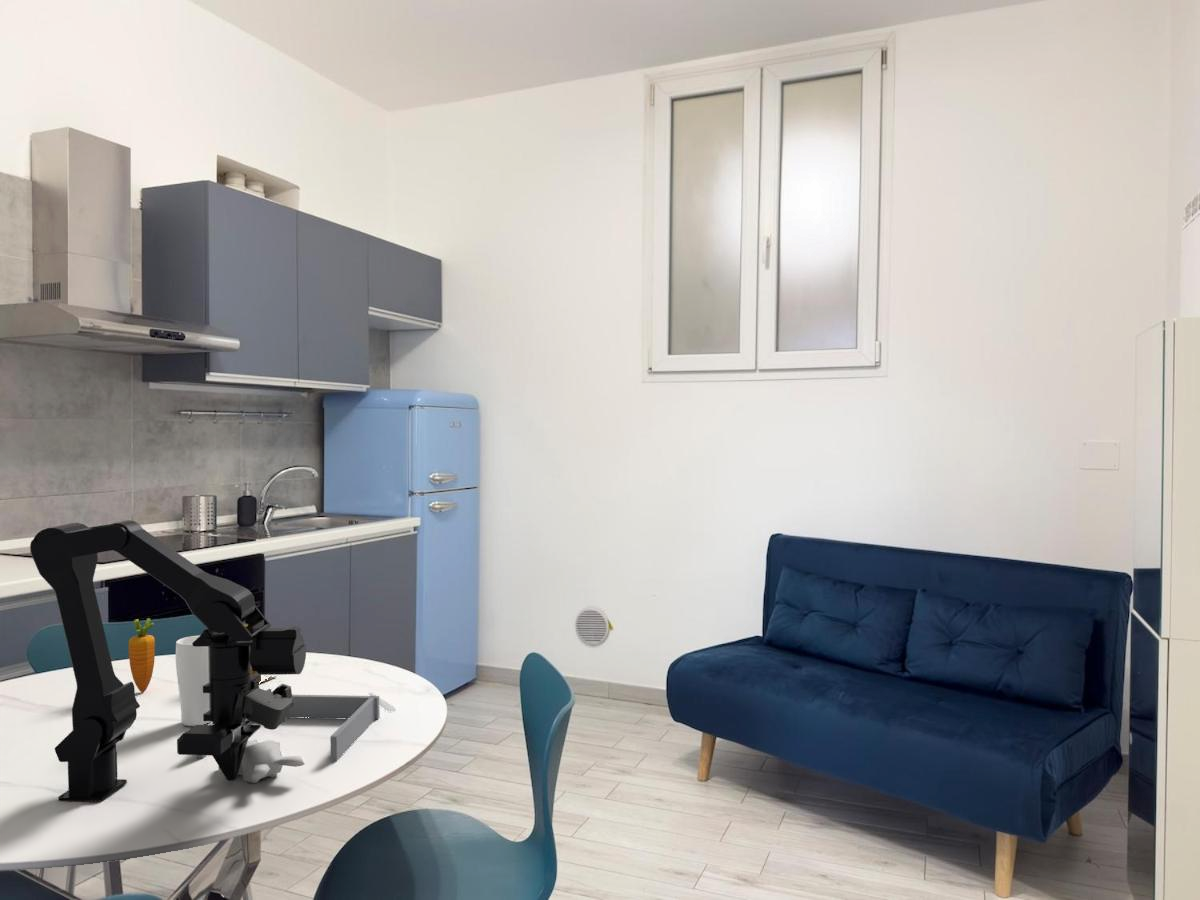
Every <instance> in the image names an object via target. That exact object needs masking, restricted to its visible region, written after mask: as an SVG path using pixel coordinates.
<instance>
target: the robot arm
mask: <svg viewBox="0 0 1200 900" xmlns="http://www.w3.org/2000/svg"><path fill="white" fill-rule="evenodd" d="M29 549H30V554H31V557H32V560H33V562H34V565H35V567H36V568H37V571H38V573H39V575H40V576H41V578H42V579H43V580H45V582H46V583H47V584H48V585H49V586H50V587H51V589H53V591H54V593H55V598H56V602H57V607H58V610H59V615H60V619H61V624H62V627H63V631H64V636H65V639H66V644H67V649H68V653H69V657H70V662H71V665H72V670H73V671H72V672H73V675H74V679H75V682H76V691H75V694H74V695H75V696H74V698H73V699H74V700H73V702H72V708H71V719H72V722H71V723H72V724H71V725H72V730H71V731H70V733H68V734H67V735H66V737H64V739H62V740H61V742H60V743H59V742H58V744H57V745H56V746H55V748H54V751H55V755H56V756H57V757H56V758H57V759H58V761H59V762H60V763H67V781H68V783H67V784H68V790H66V791H64V792H63V793H61V794H60V795H59V796H58V797H57V798H58V801H60V802H61V801H64V802H65V801H68V802H69V801H70V802H73V801H74V802H101V801H103V800H106V799H107V798H108V797H109V796H111V795H112V794H114V793H115V792H117V791H118V790H120V789H121V788H122V787H123V786H125V785H126V784H128V780H127V779H125V778H122V779H121V778H119V779H118V752H117V743H119V742H121V741H123V740H124V738H125V735H126V732H127V731H128V730H129V729H130V728H131V727H132V725H133V724H134V723H135V721H136V719H137V714H138V712H137V709H139V708H140V707H141V705H140V704H139V702H138V700H137V698H136V691H135V683H134V681H129V682H127V683H123V682H122V681H121V680H120V679H119V678H118V677H117V675H116V674H115V671H114V667H113V663H112V659H111V654H110V649H109V646H108V642H107V635H106V632H105V628H104V625H103V620H102V615H101V611H100V607H99V603H98V599H97V595H96V591H95V586H94V577H95V572H96V569H97V563H98V559H99V558H98V557H99V556H98V554H100V553H104V552H109V551H114V552H116V553H118V554H119V555H121V557H123V558H125V559H127V560H128V561H130V563H133V565H135V566H136V567H138V568H140V569H141V570H143V571H144V572H145V573H147V574H148V575H149V576H151V577H152V578H154V579H155V580H156V581H158V582H159V583H161V584H162V585H164V586H165V587H167V588H168V589H170V590H171V591H173V592H174V593H176V594H177V595H178V596H180V598H182V600H184V602H185V603H186V605H187V607H188V608H189V610H190V612H191V614H192V615H194V616H195V618H197V619H198V621H199V622H201V624H203V626H204V627H206V628H205V629H204V630H203V631H202V632H201V634H199V635H200V637H199V638H197V639H196V640H195V641H194V642H193V643H192V645H193V646H195V647H201V646H208V662H209V683H207V684H206V685H204V686H203V693H209V711H208V712H206V713H205V714H203V721H211V723H212V724H213V725H210V724H205V725H195V726H191V728H190V729H188V730H186V731H185V732H183V733H182V734H181V735H180V736H179V737H178V738H177V739H176V750H177V751H176V752H177V754H178V755H180V756H184V755H185V756H197V755H207V756H212V757H213V759H214V761H215V762H216V764H217V766H219V767H220V769H221V771H222V772H223V774H222V775H223V776H224V778H225V780H226V781H228V782H234V781H236V780H237V778H238V772H239V768H240V765H241V761H242V758H243V754H244V751H245V747H246V744H247V742H248V741H249V739H250V738H251V737H252V736H253V735H254V734H256V732H257V731H258V730H260V728H261V727H262V726H263V728H264V729H266V730H267V729H268V730H270V731H272V730H274V731H275V730H277V729H278V727H279V726H280V725H281V724H283V723H285V722H286V720H287V719H288V718H287V715H288V712H289V709H291V708H292V707H293V706H294V703H293V699H294V698H292V695H293V693H292V686H290V685H288V684H285V683H281V684H280V685H278V686H277V687H276V688H275V689H274V690H272V689H271V688H268V689H267V690H266V689H263V688H261V687H260V684H259V680H257V677H251V667H252V669H253V671H257V673H258V674H259V675H264V676H271V675H272V676H273V675H274V676H278V675H279V676H280V675H283V676H284V675H300V674H302V672H303V670H304V668H305V663H306V658H307V657H306V656H307V645H306V644H305V640H304V637H303V635H302V634H301V627H300V626H295V625H294V626H288V627H271V626H272V625H271V623H270V622H269V621H268V619H267V618H266V617H265V615H264V614H263V613H262V612H261V610H260V609H259V608H258V607H257V606H256V602H255V596H254V594H253V593H252V592H251V590H249V589H248V588H246V587H244V586H243V585H241V584H238V583H236V582H234V581H232V580H229V579H227V578H225V577H224V578H223V577H221V576H217V575H213V574H210V573H209V572H206V571H204V570H203V569H201V568H200V567H198V566H197V565H196V564H194V563H192V562H191V560H188V559H187V558H185V557H184V556H183V555H182V554H180V553H178V552H177V551H175V550H174V549H173V548H171V547H170V546H169V545H167V544H165V543H164V542H162V541H161V540H160V539H158V538H157V537H156V536H154V535H152V533H149V532H148V531H147V530H146V529H144V528H143V527H142V525H141V524H140V523H138V522H137V521H134V520H128V519H126V520H122V521H118V522H113V523H111V524H103V525H97V526H90V527H89V526H87V525H86V524H83V523H80V522H70V523H66V524H60V525H56V526H51V527H46V528H44V529H41V530H40V531H39V532H37V533H36V534H35V536H34V537H33V539H32V540H31V541H30V545H29ZM244 623H246V624H248V626H246V627H245V625H244ZM249 720H250V721H249ZM253 723H255V724H253Z"/></svg>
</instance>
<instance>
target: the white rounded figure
mask: <svg viewBox="0 0 1200 900" xmlns="http://www.w3.org/2000/svg"><path fill="white" fill-rule="evenodd" d="M258 741H259V740H258V739H257V738H255V739H253V740H248V741H247V744H246V747H245V751H244V754H243V758H242V761H241V765H240V768H239V772H238V775H239V776H242V780H244V781H245V782H249V783H252V784H257V783H258V782H260V780H261V779H264V778H267V777H269V778H270V779H271V778H275V777H277V775H278V774H279V773H281V771H282V768H283V767H284V766H287V767H295V768H297V767H303V766H304V765H305V763H304V760H303V758H302V756H300V755H299V756H297V755H296V756H295V755H294V756H292V755H291V756H290V755H289V756H287V755H285V756H283V754H282V751H281V744H280V742H279V741H278V742H277V741H275V740H269V739H268V740H264V741H261V742H258ZM217 766H218V765H217ZM217 768H218V773H219V775H224V774H223V772H222V771H221V769H220V767H219V766H218V767H217ZM238 775H237V776H238Z"/></svg>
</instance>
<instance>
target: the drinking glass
mask: <svg viewBox="0 0 1200 900" xmlns="http://www.w3.org/2000/svg"><path fill="white" fill-rule="evenodd" d="M200 635H201V634H199V635H191V636H185V637H182V638H179V639H178V640H176V642H175V669H176V678H177V684H178V687H177V688H178V692H179V693H178V694H179V704H180V711H181V712H180V716H181V717H180V718H181V724H183V726H186V727H194V726H195V725H204V724H205V725H208V724H209V723H210V724H211V723H212V721H203V714H205V713H206V712H208V711H209V693H203V686H204V685H206V684H207V683H209V662H208V646H201V647H195V646H193V645H192V643H193V642H194V641H195V640H196V639H197V638H199V637H200ZM207 723H208V724H207Z"/></svg>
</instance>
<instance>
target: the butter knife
mask: <svg viewBox="0 0 1200 900" xmlns="http://www.w3.org/2000/svg"><path fill="white" fill-rule="evenodd" d="M368 694H369V695H370V696H377V694H375V693H373V692H368ZM368 694H367V695H368ZM369 695H368V696H369ZM379 705H380V706H381V707H383V708H384V709H385V710H387V711H390V712H389V713H392V712H391V711H395V712H396V711H397V709H396V707H395V706H394V705H391V703H389V702H388V701H386V700H384V699H382V698H381V697H379ZM380 706H379V707H380ZM381 707H380V708H381ZM385 710H384V711H385Z"/></svg>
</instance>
